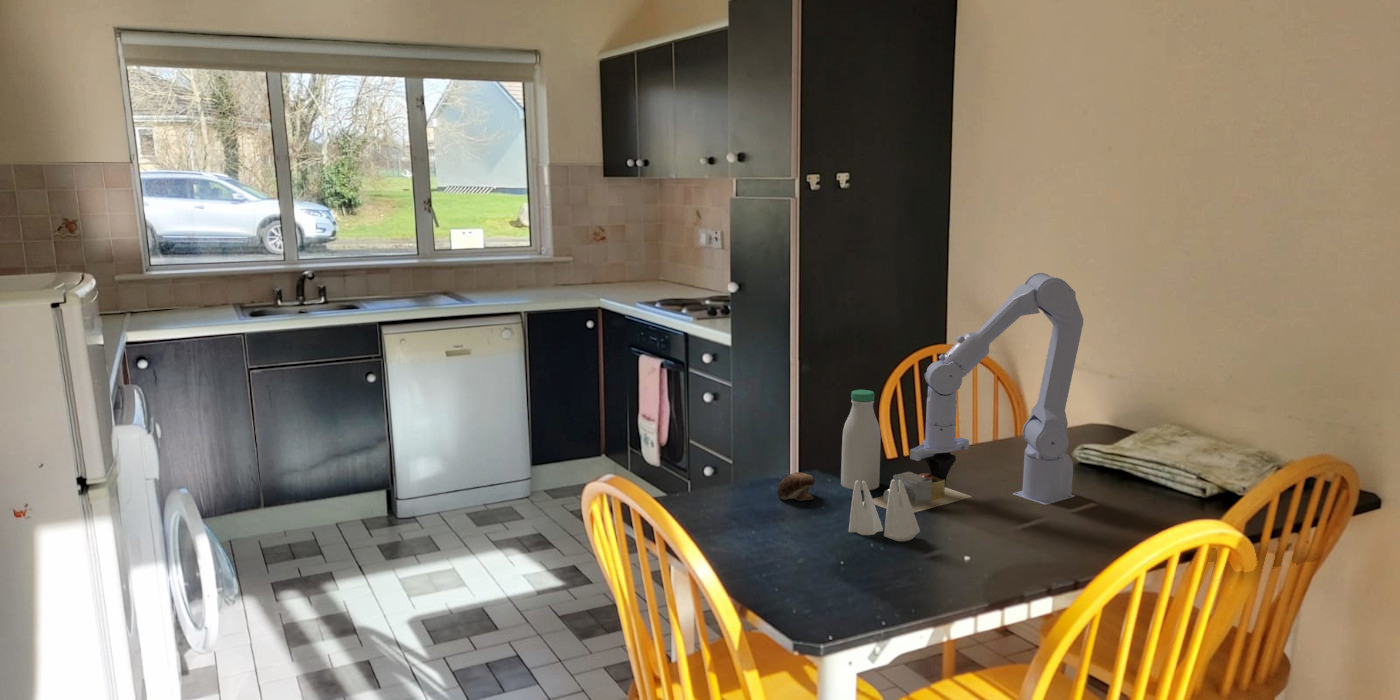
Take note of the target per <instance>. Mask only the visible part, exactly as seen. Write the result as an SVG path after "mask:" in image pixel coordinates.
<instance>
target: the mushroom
mask: <svg viewBox="0 0 1400 700" xmlns="http://www.w3.org/2000/svg"><path fill="white" fill-rule="evenodd" d="M815 483H816V480H815V477H813V475H810V474H808V473H805V472H793V473H791V474H789V475H787V476H786V477H784V478H783V479H782V480H781V481H780V483H779V484H778V486H777V496H778V498H779V499H780V500H782V501H783V500H784V501H785V500H789V499H791V500H792V499H793V500H796V501H798V502H800V501H801V502H802V501H812V500H814V496H813V495H812V494H811V493H810V492H809V489H810V488H811V487H813V486H814V484H815Z"/></svg>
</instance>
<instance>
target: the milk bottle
mask: <svg viewBox="0 0 1400 700" xmlns="http://www.w3.org/2000/svg"><path fill="white" fill-rule="evenodd" d="M850 399H851V401H850V402H851V408H850V411H849V414H848V416H847V418H846V420H845V423H844V426H843V429H842V440H841V441H842V442H841V443H842V444H841V462H840V463H841V467H840V485H841V486H842V487H844V488H846V489H848V490H854V485H855V481H857V480H858V481H859V483H860V489H861V491H863V485H862V481H865V482H866V484H867V486H868V489H869V491H873V490H876V489H878V488H879V487H880V475H881V474H880V472H881V471H880V469H881V468H880V467H881V439H882V438H881V436H882V435H881V427H880V424H879V422H878V419H877V416H876V413H875V410H874V403H875V392H874V391H872V390H868V389H855V390H852V391H851V395H850Z"/></svg>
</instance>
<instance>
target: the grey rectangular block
mask: <svg viewBox="0 0 1400 700" xmlns="http://www.w3.org/2000/svg"><path fill="white" fill-rule="evenodd" d="M893 479H894V480H895V482H896V487H897V492H898V493H899V483H898V481H899V480H901V481H902V483H903V485H904V487H905V490H906V492H907V495H908V498H909V500H910V503H911V506H914V507H917V506H921V505H925V504H928V503H931V489H932V479H929V478H926V477H923V476H920V475H919V474H917V473H914V472H911V471H906V472H901V473H896V474H893V475H892V480H893ZM889 489H890V488H888V489H886V490H884V492H883V495H882V496H883V498H884V501H885V502H886V504H887V503H888V496H889Z"/></svg>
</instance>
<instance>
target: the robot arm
mask: <svg viewBox="0 0 1400 700" xmlns="http://www.w3.org/2000/svg"><path fill="white" fill-rule="evenodd" d="M1076 294H1077V292H1076V291H1075V290H1074V289H1073V288H1072V287H1071V286H1070V285H1069V283H1067V282H1066V280H1064V279H1062V278H1060V277H1054V276H1051V275H1049V274H1048V273H1044V272H1038V273H1034V274H1031V275H1030V276H1029V277H1028V278H1027V279H1026V281H1025V282H1024V283H1022V284H1020V285H1018V286H1017V287H1016V289H1015V290H1014V291H1013V292H1012V293H1011V295H1009V297H1008V298H1007V299H1006V300H1005V301H1004V302H1003V303H1002V304H1001V305H1000V306H999V307H998V308H997V310H995V312H994V313H993V314H992V315H991V316H990V317H989V318H988V320H987V321H986V322H985V323H984V324H983V325H982V326H981V327H980V328H979V329H978V330H977V331H974V332H973V331H972V332H966V333H965V334H964V335H962V334H960V335H958V336H957V337H956V338H955V340H956V343H955V344H953V346H952V347H951V348H950V349H948V350H947V351H946V353H945V354H943V353H941V354H940V355H939V356H938V359H939V360H937V361H933V362H932V363H930V365H929V366H927V369H926V372H925V373H924V379H925V382H926V383H927V385H928V386H927V398H926V411H925V414H926V416H925V436H924V437H925V439H923V440H922V441H921V442H922V443H921V444H920V445H917V446H916V447H914V448H910V449H909V459H910V460H913V461H916V462H919V461H921V459H924V460H925V462H926V464H927V465H928V469H929V471H930V474H932V475H933V476H935V477H938V478H941V479H944V480H945V486H946V484H947V477H948V474H949V472H950V471H951V468H952V467H953V465H954V464H955V462H956V461H957V460H956V459H957V458H956V457H957V455H955V454H952V452H955V451H959V450H969V446H970V445H969V444H970V439H967V438H964V437H958V438H956V433H957V430H956V429H957V407H958V405H957V404H958V400H957V395H958V394H957V393H958V390H959V389H960V388H961V387H962V383H963V378H964V377H966V376H967V375H968V374H969V373H970V372H971V371H972V370H973V369H975V367H977V365H979V364H980V362H982V361H983V360H984V359H985V358H986V357H987V356H988V355H989V352H990V345H991V343H992V342H994V341H995V340H996V339H997V338H999V336H1000V335H1001V334H1003V333H1004V332H1005V331H1006V330H1007V329H1008V328H1009V327H1010V326H1011V325H1013V324H1014V323H1015V322H1016V321H1017V320H1018V319H1020V318H1021V317H1023V316H1030V315H1035V314H1036V315H1037V314H1040V311H1041V312H1043V314H1044V315H1045V316H1046V317H1047V319H1048V320H1049V321H1050V322H1051V324H1052V330H1051V336H1050V340H1049V345H1048V350H1047V354H1046V358H1045V359H1046V360H1045V365H1044V368H1043V369H1044V370H1043V374H1042V378H1041V384H1040V389H1039V393H1038V398H1037V402H1036V404H1035V405H1033V408H1032V409H1031V411H1030V416H1029V418H1028V419H1027V420H1026V422H1025V423H1024V425H1023V427H1022V437H1023V438H1024V440H1025V442H1026V444H1027V446H1026V448H1025V449H1024V458H1023V459H1024V460H1023V472H1022V473H1023V474H1022V475H1023V476H1022V489H1021V490H1019V491H1016V492H1013V493H1012V494H1013V495H1014V496H1018V497H1020V498H1024V499H1026V500H1029V501H1033V502H1035V503H1039V504H1042V505H1045V506H1047V505H1051V504H1054V503H1056V502H1060V501H1065V500H1067V499H1068V500H1069V499H1070V498H1071V499H1072V498H1074V497H1076V495H1075V494H1073V493H1072V491H1073V488H1072V487H1073V475H1074V464H1073V461H1072V458H1071V457H1070V456H1069V455H1068V454H1067V453H1066V452H1067V450H1068V447H1069V446H1070V445H1069V443H1070V442H1069V441H1070V440H1069V436H1068V424H1069V423H1068V418H1067V413H1066V406H1067V403H1068V397H1069V393H1070V387H1071V383H1072V379H1073V373H1074V369H1075V363H1076V360H1077V353H1078V350H1079V346H1080V345H1079V344H1080V341H1081V336H1082V331H1083V328H1084V327H1083V326H1084V317H1083V314H1082V312H1081V308H1080V306H1079V304H1078V303H1079V302H1078V300H1077V298H1076Z"/></svg>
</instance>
